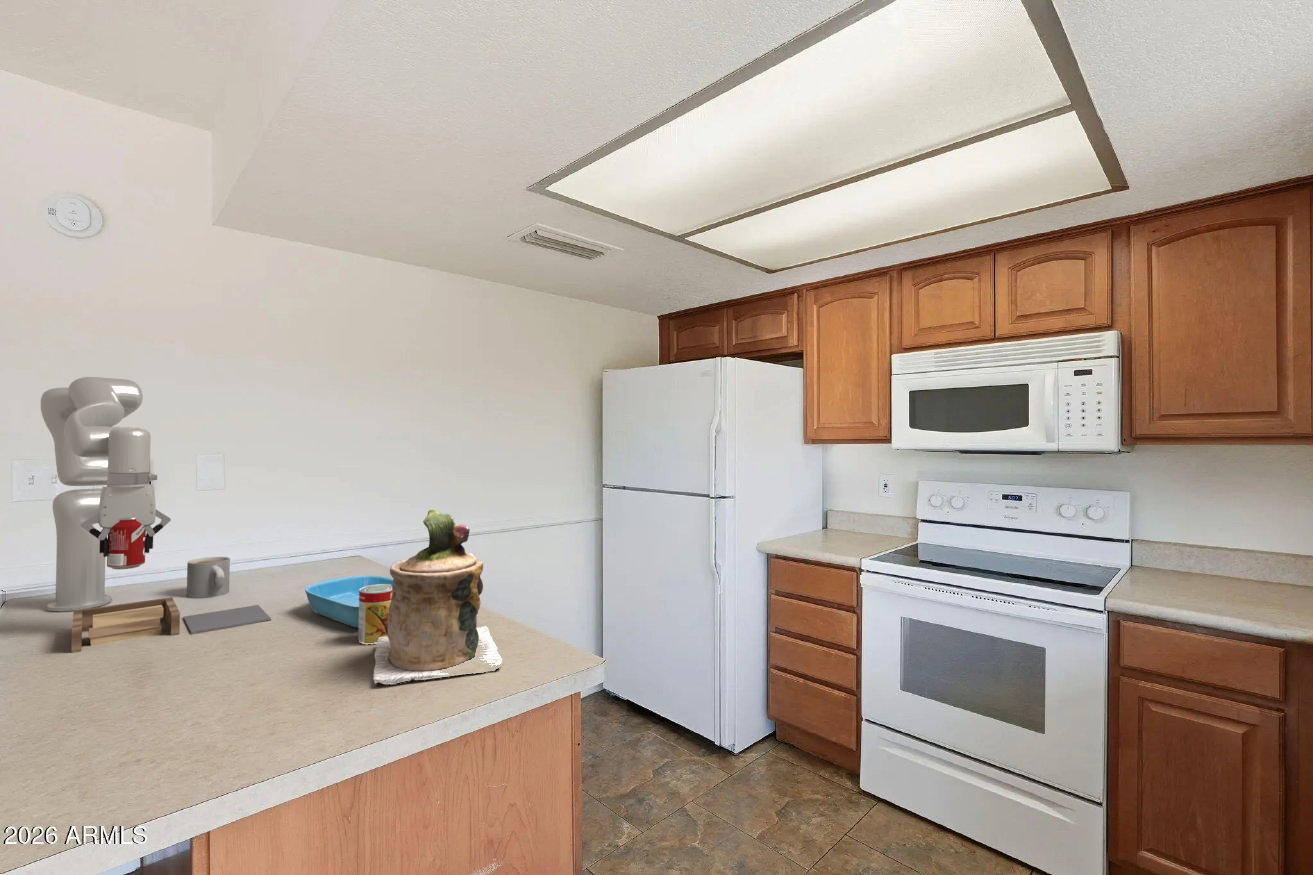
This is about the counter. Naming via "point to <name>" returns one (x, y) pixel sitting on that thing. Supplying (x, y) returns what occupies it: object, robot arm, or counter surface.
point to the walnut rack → (86, 615)
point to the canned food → (374, 612)
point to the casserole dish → (341, 596)
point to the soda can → (126, 544)
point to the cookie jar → (434, 609)
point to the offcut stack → (125, 625)
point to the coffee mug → (208, 577)
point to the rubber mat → (225, 619)
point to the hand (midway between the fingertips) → (126, 553)
